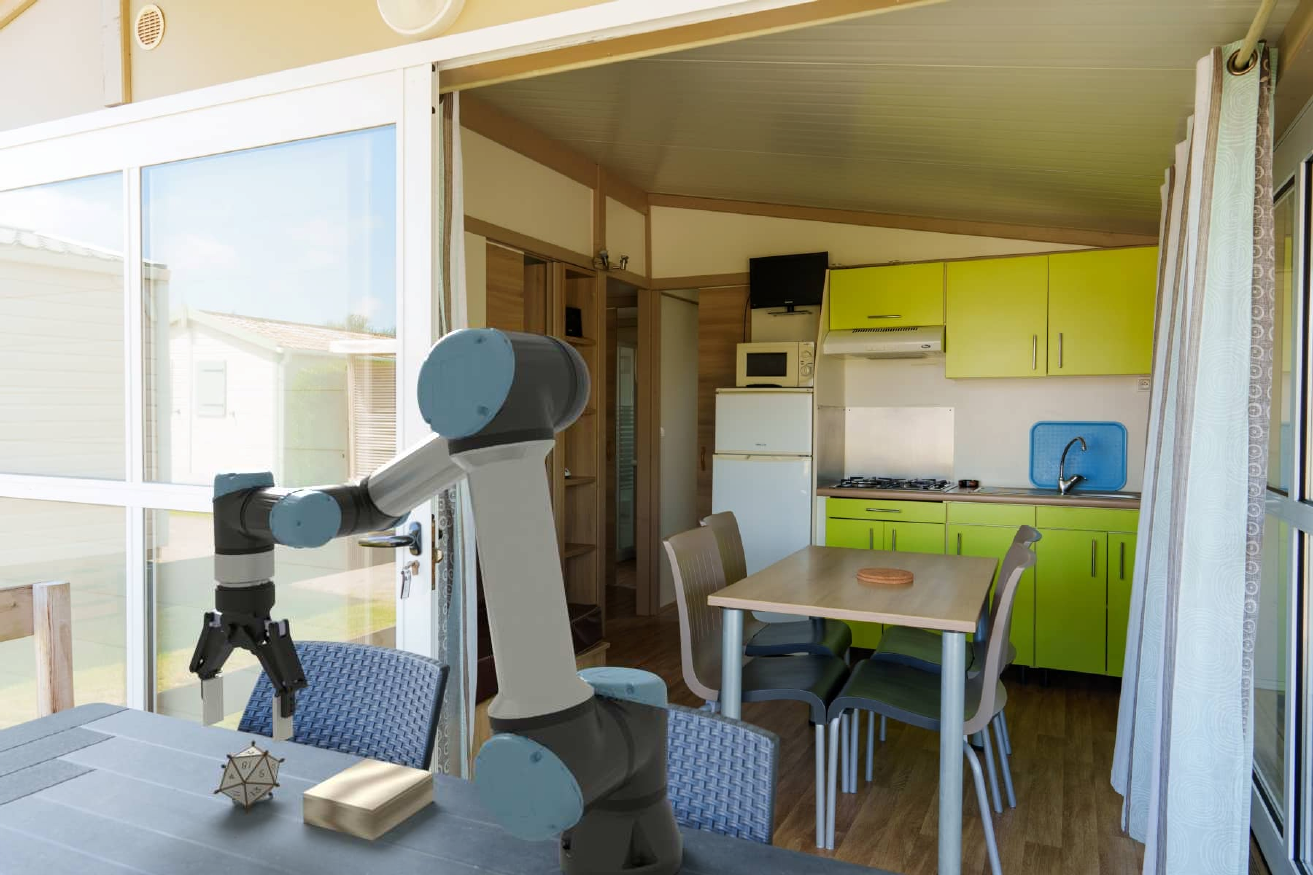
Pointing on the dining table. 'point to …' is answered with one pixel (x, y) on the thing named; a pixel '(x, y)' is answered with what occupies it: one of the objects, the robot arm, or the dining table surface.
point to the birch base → (368, 798)
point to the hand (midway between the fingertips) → (247, 731)
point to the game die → (249, 776)
